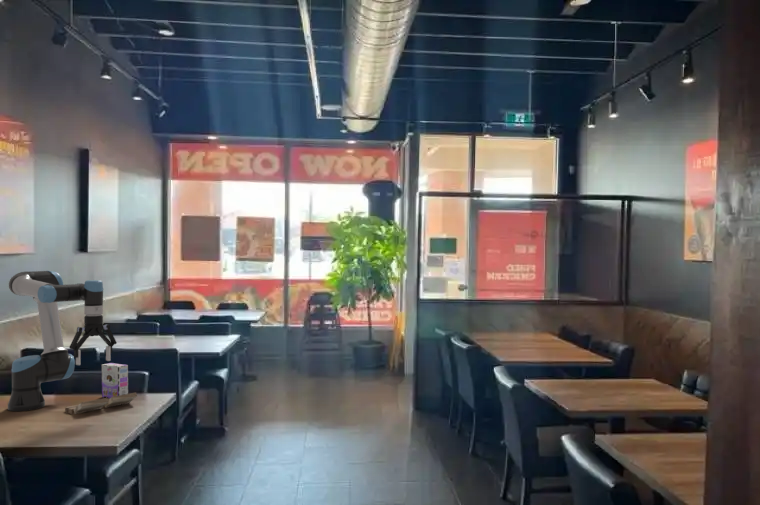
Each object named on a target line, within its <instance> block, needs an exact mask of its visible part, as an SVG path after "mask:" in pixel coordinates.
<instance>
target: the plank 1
mask: <svg viewBox="0 0 760 505" xmlns="http://www.w3.org/2000/svg"><path fill="white" fill-rule="evenodd" d="M108 399H109V398H104V397H103V398H101V399H94V400H88V401H84V402H80V403H79V404H77V405H78V406H77V407H76V408H75V409H74V413H75V414H74V415H76V413H77V414H82V413H86V411H87V412H91V410H92V411H97V410H101V408H102V407H103V406H104V405H105V404H107V403H108ZM96 409H97V410H96ZM102 409H103V408H102ZM81 412H82V413H81Z"/></svg>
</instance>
